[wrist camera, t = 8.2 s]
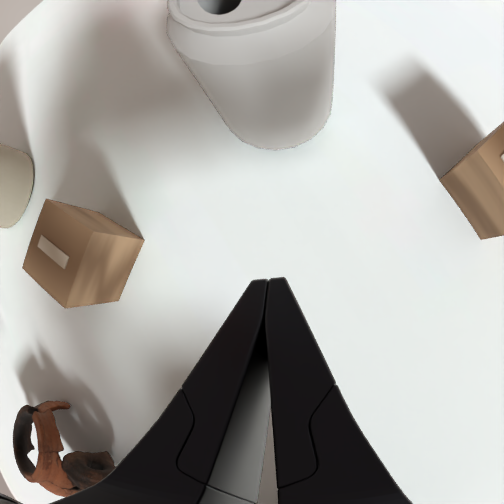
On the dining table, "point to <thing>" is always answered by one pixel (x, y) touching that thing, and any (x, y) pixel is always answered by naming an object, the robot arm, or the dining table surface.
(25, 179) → the travel mug
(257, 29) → the can
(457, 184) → the marked block 1
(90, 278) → the marked block 2
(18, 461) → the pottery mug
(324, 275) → the dining table surface
